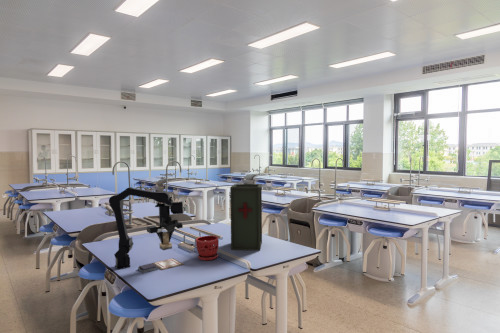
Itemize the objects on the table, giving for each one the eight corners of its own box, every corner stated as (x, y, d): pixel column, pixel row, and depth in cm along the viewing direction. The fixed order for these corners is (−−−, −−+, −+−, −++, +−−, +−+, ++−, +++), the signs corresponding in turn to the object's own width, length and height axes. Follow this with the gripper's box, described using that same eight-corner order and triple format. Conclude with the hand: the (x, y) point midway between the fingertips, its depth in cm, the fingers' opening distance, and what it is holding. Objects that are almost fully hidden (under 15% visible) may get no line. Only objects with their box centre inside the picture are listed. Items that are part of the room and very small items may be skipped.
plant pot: (215, 253, 200) (215, 234, 200) (221, 260, 188) (221, 239, 188) (194, 256, 196) (193, 236, 195) (198, 263, 184) (198, 241, 183)
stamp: (163, 250, 177) (162, 234, 177) (159, 248, 181) (159, 232, 181) (172, 248, 180) (171, 232, 180) (168, 246, 184) (167, 231, 184)
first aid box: (261, 242, 224) (261, 184, 223) (260, 250, 206) (259, 187, 204) (235, 241, 226) (234, 184, 224) (231, 249, 208) (230, 187, 206)
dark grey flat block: (143, 272, 169) (142, 269, 169) (138, 269, 174) (137, 265, 174) (157, 269, 174) (157, 265, 174) (152, 265, 180) (152, 262, 179)
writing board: (161, 270, 173) (161, 269, 173) (151, 263, 183) (151, 262, 183) (183, 264, 181) (183, 263, 181) (173, 258, 191) (173, 257, 191)
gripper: (153, 219, 168) (155, 249, 168) (186, 214, 179) (187, 242, 180) (145, 216, 176) (146, 244, 177) (177, 211, 188) (178, 238, 189)
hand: (165, 242), depth 180 cm, fingers closed on stamp, 4 cm apart
